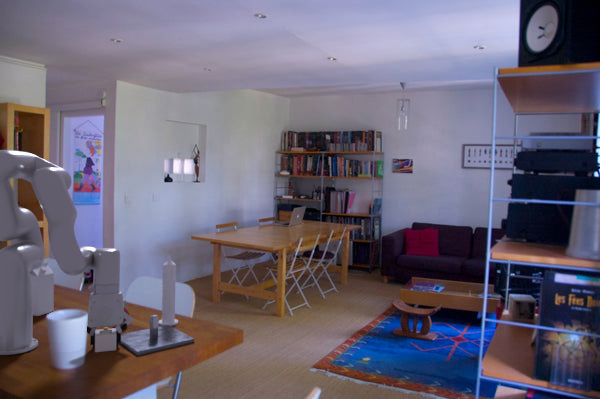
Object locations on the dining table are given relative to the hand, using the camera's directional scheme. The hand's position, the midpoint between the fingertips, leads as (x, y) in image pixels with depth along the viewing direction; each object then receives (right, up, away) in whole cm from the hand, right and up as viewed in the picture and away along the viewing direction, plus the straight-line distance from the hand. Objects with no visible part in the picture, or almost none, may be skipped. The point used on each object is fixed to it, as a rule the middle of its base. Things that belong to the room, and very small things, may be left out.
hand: (105, 345), depth 146 cm
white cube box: (0, -1, 0) cm, 1 cm away
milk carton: (-39, +2, +33) cm, 51 cm away
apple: (-10, +1, +34) cm, 36 cm away
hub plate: (+13, -1, +8) cm, 15 cm away
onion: (-4, 0, +21) cm, 21 cm away
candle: (+12, 0, +26) cm, 29 cm away
